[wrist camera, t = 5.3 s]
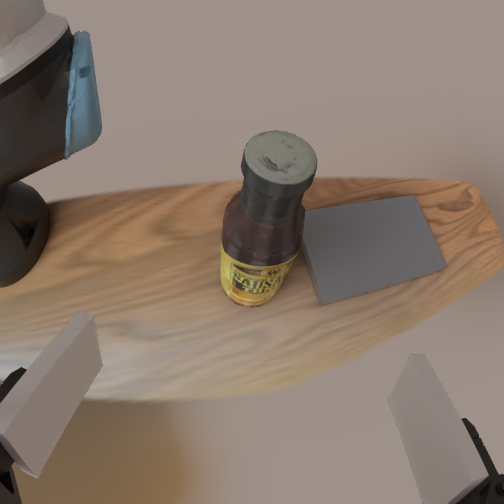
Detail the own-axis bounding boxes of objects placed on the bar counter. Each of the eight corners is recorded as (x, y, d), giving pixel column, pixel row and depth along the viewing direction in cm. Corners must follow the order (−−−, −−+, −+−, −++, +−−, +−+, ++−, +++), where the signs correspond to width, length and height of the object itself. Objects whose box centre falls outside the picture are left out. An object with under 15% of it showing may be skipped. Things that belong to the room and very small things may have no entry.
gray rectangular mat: (319, 306, 33) (323, 302, 32) (292, 218, 37) (294, 212, 36) (440, 271, 36) (446, 267, 34) (409, 200, 40) (414, 194, 39)
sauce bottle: (229, 316, 32) (224, 218, 14) (215, 262, 35) (200, 126, 16) (288, 301, 33) (352, 193, 15) (272, 249, 36) (307, 112, 18)
